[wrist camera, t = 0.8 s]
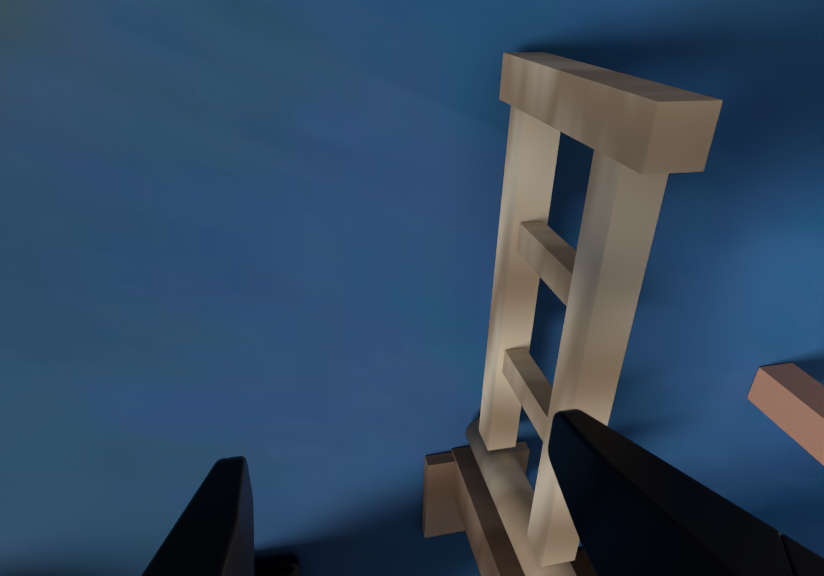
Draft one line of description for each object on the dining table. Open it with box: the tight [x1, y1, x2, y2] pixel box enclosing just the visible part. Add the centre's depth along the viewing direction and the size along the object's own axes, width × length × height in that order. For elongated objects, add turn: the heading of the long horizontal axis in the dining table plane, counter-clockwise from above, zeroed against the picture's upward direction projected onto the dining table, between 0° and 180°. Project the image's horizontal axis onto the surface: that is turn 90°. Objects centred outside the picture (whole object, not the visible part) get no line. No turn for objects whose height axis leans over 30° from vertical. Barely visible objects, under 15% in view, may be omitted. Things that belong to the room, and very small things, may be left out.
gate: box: [466, 52, 723, 576], centre depth 18 cm, size 17×2×8 cm, turn 179°
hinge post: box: [422, 441, 530, 576], centre depth 24 cm, size 5×5×10 cm
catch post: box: [747, 363, 824, 466], centre depth 26 cm, size 2×2×6 cm
